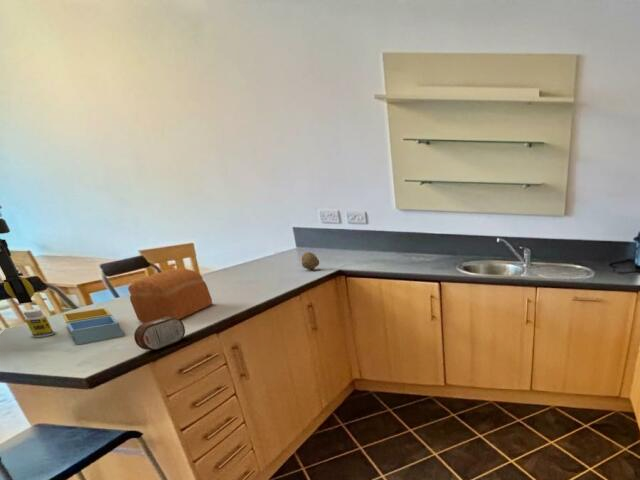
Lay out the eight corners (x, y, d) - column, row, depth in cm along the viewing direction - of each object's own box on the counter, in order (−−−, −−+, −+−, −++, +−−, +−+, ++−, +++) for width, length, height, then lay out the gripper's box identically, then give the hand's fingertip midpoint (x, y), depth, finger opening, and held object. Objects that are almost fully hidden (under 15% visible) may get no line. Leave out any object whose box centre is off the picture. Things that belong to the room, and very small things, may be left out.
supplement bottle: (37, 338, 135) (24, 313, 132) (31, 336, 137) (18, 311, 133) (57, 334, 139) (44, 309, 135) (50, 331, 141) (38, 307, 137)
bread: (216, 303, 174) (205, 265, 167) (174, 323, 151) (158, 280, 144) (183, 303, 174) (169, 265, 166) (134, 323, 150) (117, 279, 143)
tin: (182, 337, 139) (173, 312, 135) (190, 337, 138) (182, 313, 134) (139, 354, 125) (128, 327, 122) (148, 354, 125) (137, 328, 121)
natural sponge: (323, 269, 242) (320, 251, 238) (315, 272, 234) (312, 253, 230) (308, 268, 243) (305, 250, 238) (300, 271, 235) (296, 253, 230)
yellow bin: (68, 326, 146) (62, 314, 144) (110, 319, 153) (105, 307, 151) (72, 334, 139) (65, 321, 137) (116, 326, 147) (111, 314, 145)
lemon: (35, 302, 124) (21, 276, 121) (8, 305, 122) (-6, 277, 118) (42, 298, 128) (29, 272, 125) (17, 300, 126) (3, 273, 122)
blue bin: (73, 336, 138) (66, 322, 136) (117, 328, 145) (112, 315, 143) (77, 344, 131) (70, 330, 129) (124, 335, 139) (118, 322, 137)
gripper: (4, 220, 111) (45, 304, 122) (3, 215, 122) (41, 292, 133) (-40, 222, 106) (7, 309, 117) (-37, 216, 117) (6, 296, 128)
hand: (25, 300), depth 125 cm, fingers closed on lemon, 5 cm apart
